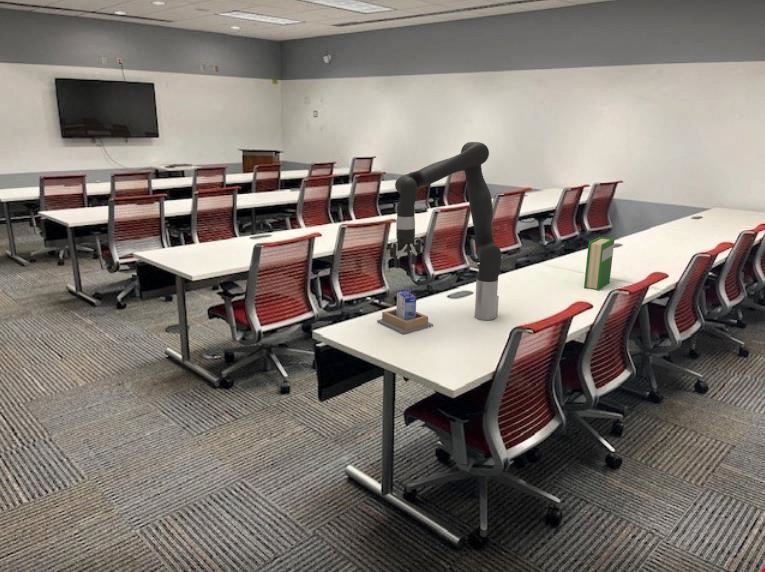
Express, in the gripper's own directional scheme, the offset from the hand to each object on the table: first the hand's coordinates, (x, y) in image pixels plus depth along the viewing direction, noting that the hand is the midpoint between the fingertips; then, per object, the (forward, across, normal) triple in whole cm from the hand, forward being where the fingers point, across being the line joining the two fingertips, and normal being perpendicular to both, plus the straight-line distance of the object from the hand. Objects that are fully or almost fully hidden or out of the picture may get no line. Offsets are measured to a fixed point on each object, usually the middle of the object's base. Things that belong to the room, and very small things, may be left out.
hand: (405, 265), depth 235 cm
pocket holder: (+26, 0, 0) cm, 26 cm away
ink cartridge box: (+25, 0, 0) cm, 25 cm away
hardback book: (+26, -116, +15) cm, 120 cm away
